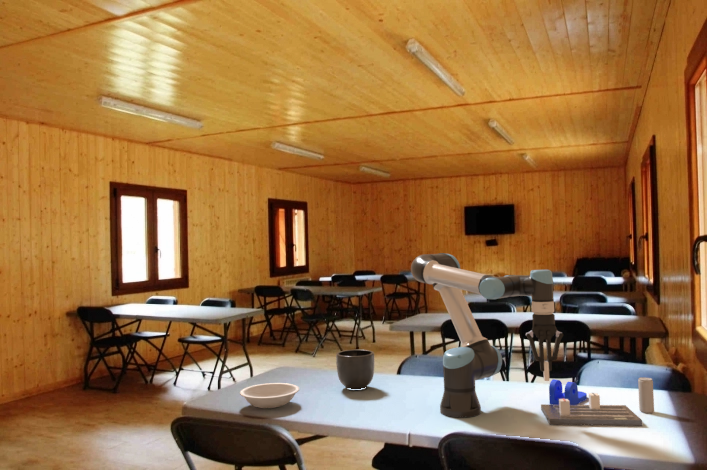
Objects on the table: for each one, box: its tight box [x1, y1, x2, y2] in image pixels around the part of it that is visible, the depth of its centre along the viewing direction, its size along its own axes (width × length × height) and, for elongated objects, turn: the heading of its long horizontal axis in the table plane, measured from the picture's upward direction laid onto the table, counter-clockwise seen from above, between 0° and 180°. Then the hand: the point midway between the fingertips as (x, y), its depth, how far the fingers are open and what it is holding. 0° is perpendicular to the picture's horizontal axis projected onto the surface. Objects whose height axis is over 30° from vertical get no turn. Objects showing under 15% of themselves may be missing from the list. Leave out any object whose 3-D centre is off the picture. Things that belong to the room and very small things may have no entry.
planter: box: [335, 349, 375, 389], centre depth 257 cm, size 17×17×16 cm
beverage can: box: [637, 376, 655, 414], centre depth 209 cm, size 5×5×12 cm
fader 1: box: [559, 398, 570, 415], centre depth 202 cm, size 3×3×5 cm
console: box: [540, 404, 643, 427], centre depth 205 cm, size 30×18×3 cm, turn 81°
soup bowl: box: [239, 382, 300, 409], centre depth 233 cm, size 24×24×7 cm
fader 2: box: [588, 392, 601, 409], centre depth 208 cm, size 3×3×5 cm
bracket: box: [548, 379, 588, 405], centre depth 227 cm, size 18×8×9 cm, turn 135°
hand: (546, 379), depth 203 cm, fingers closed
